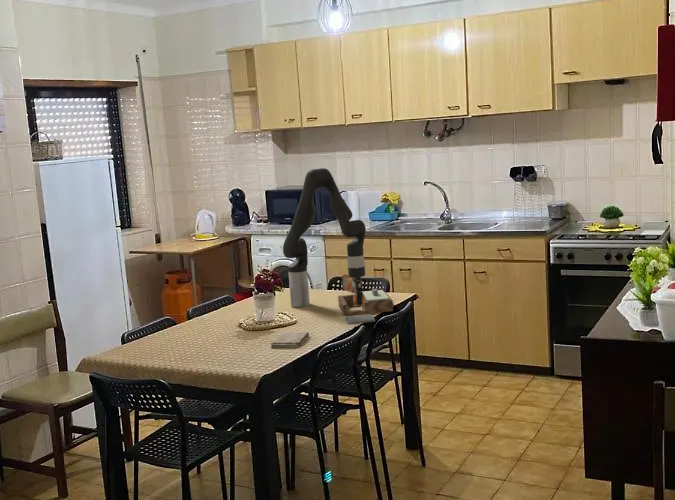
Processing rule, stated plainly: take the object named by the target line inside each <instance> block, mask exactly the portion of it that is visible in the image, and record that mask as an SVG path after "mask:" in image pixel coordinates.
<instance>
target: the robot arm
mask: <svg viewBox="0 0 675 500" xmlns="http://www.w3.org/2000/svg"><path fill="white" fill-rule="evenodd" d="M302 187H303V188H302V192H301V195H300V198H299V202H298V205H297V207H296V210H295V214H294V216H293V221H292V223H291V226H290V229H289V231H288V233H287V235H286V238H285V239H284V242H283V245H282V253H283V255H284V257H285V258H286V259H294V261H293V262H292V263H290V264H289V265H288V266H287V270H288V273H287V274H288V280H289V281H288V282H289V296H290V297H289V298H290V307H292V308H302V307H306V306H310V304H311V303H310V302H311V301H310V292H309V291H310V288H309V278H308V277H309V276H308V265H309V263H308V245H307V244H308V243H307V242H306V240H305V239H304V238H303V237H302V235H304V233H306V232H307V231H308V229H310V227H311V226H312V225H313V223H314V221H315V217H316V214H317V207H316V205H315V202H314V195H315V192H316V191H317V190H322V189H325V190H326V191H327V192H328V194H329V205H330V209H331V211H332V213H333V215H334V216H335V218H336V219H337V220H338V223H339V224H338V225H339V227H340V230H341V234H342V235H343V236H345V237H346V238H353V239H352V241H350V242H349V243H347V245H346V252H347V273H348V275H349V277H354V279H353V288H354V293H353V294H356V296H357V304H358V305H362V296H363V292H364V291H363V286H364V285H363V280H362V278H363V277H366V262H365V255H364V244H365V243H364V242H365V237H366V232H367V230H366V225H365V223H364V221H363V220H361V219H355V220H351V219H352V218H353V211H352V210H351V208H350V207H349V205H348V204H347V202H346V201H345V200H344V198H343V196H342V194H341V192H340V190H339V188H338V185H337V184H336V181H335V178H334V177H333V175H332V173H331V172H330V170H329V169H327V168H323V167H322V168H314V169H310V170H308V171H307V172H306V175H305V178H304V181H303V185H302Z"/></svg>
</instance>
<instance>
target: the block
mask: <svg viewBox="0 0 675 500" xmlns="http://www.w3.org/2000/svg"><path fill="white" fill-rule="evenodd" d="M353 303H354V307H361V306H363V305H365V298H364V294H363V296H362V305H358V304H357V296H356V294H355V293H353Z"/></svg>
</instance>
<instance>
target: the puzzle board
mask: <svg viewBox="0 0 675 500" xmlns="http://www.w3.org/2000/svg"><path fill="white" fill-rule="evenodd" d="M383 291H384V290H383ZM384 293H385V294H386V295H387V296H388V297H389V300H379V301H369V302H368V301H367V300H366V298H365V297H364V298H365V305H363V306H360V308H361V307H362V308H361V309H353V310H349V307H353V306H352V305H354V303H353V294H354V293H353V294H344V295H338V296H337V300H338V307H339V310H340V311H341V312H342V313H341V314H342V315H343V316H344V317H347V316H357V315H368V314H375V313H384V312H385V313H386V312H394V302H393V301H394V300H393V299H392V298H391V297H390V296H389V294H388V293H387V292H386V291H384Z"/></svg>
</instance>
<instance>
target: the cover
mask: <svg viewBox="0 0 675 500" xmlns="http://www.w3.org/2000/svg"><path fill="white" fill-rule="evenodd" d="M363 294H364V297H365V298H366V300H367V301H368V302H369V301H379V300H389V297H390V296H389V295H388V294H387V295H388V296H389V297H388V296H387V295H386V294H385V293H384V290H383V289H377V288H371V290H367V291H363Z"/></svg>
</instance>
